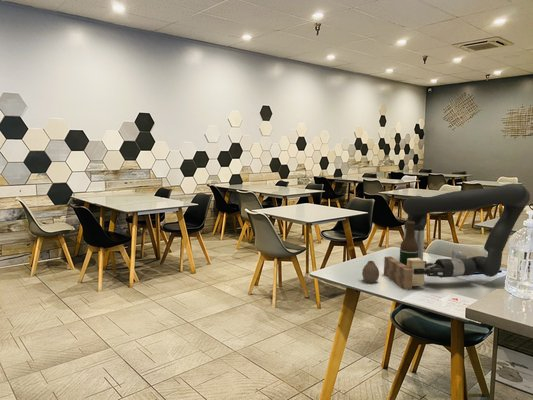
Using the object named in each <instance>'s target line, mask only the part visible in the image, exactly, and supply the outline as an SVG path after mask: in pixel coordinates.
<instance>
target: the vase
mask: <svg viewBox="0 0 533 400" xmlns="http://www.w3.org/2000/svg"><path fill="white" fill-rule="evenodd" d="M361 271H362V272H361V274H362V279H363V280H364V281H365V282H366V283H369V284H374V283H376V282H377V281H378V280H379V276H380V270H379V268H378V266H377V265H376V263H375V261H374V260H368V261H367V263H366V264H365V265H364V267H363V269H362V270H361Z"/></svg>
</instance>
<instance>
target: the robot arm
mask: <svg viewBox="0 0 533 400" xmlns="http://www.w3.org/2000/svg"><path fill="white" fill-rule="evenodd" d="M530 199H531V194H530V192H529V190H527V188H526V187H525V186H524V185H522V184H520V183H517V182H515V183H507V184H502V185H498V186H494V187H493V186H492V187H487V188H475V189H466V190H457V191H456V190H455V191H449V192H445V193H441V194H436V195H434V196H424V197H423V196H421V195H413V196H410V197H408V198H406V199H405V200H404V201H403V203H402V210H403V212H404V213H405V214H406V215H407V219H406V221H405V222H404V226H403V227H404V230H403V240H404V239H405V235H406V227H407V224H406V222H407V221H413V222H415V225H414V237H415V241H416V242H417V244H418V258H420V259H421V260H423V261H425V268H423V269H422V268H420V269H414V272H413V273H414V274H415V275H416V274H423V275H424V276H427V277H436V278H437V277H438V278H457V277H465V276H469V277H470V276H472V275H474V274H475V273H480V274H482V275H484V276H486V277H493V278H494V277H495V276H497V275H498V273H499V272H500V270H501V267H502V258H503V252H504V250H505V247H506V246H507V243H508V241H509V238H510V236H511V233H512V231H513V228H514V226H515V225H516V223H517V221H518V219H519V217H520V216H521V214H522V213H523V211H524V210H525V208H526V207H527V205H528V204H529V202H530ZM495 205H496V206H497V205H504V206H503V210H502V212H501V215H500V217H499V218H498V220H497V221H496V223H495V224H494V226H493V227H492V229H491V230H490V232H489V233H488V236H487V238H486V241H485V243H484V246H483V247H484V248H483V249H484V251H486V252H487V256H483V255H481V256H480V255H479V256H478V255H477V256H472V257H469V258H466V259H452V258H437V259H436V260H435V262H434V263H433V262H427V261H426V260H424V245H425V243H424V242H425V228H426V227H425V226H426V223H427V220H428V214H430V213H431V214H432V213H459V212H460V213H461V212H469V211H474V210H478V209H480V208H483V207H487V206H495Z"/></svg>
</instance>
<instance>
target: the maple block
mask: <svg viewBox="0 0 533 400" xmlns="http://www.w3.org/2000/svg"><path fill="white" fill-rule="evenodd" d="M425 261H426V260H424V259H423V260H421V259H420V258H407V267H409V268H411V269H412V270H413V272H414V269H420V268H422V269H423V268H425ZM424 285H425V275H423V274H416V275H415V274H414V273H413V275H412V287H417V286H418V287H421V286H424Z"/></svg>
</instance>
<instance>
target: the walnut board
mask: <svg viewBox="0 0 533 400" xmlns="http://www.w3.org/2000/svg"><path fill="white" fill-rule="evenodd" d="M383 260H384V261H383V262H384V263H383V275H385V276H386V277H387V278H389V279H390V280H392V281H393V282H394V283H395V284H397V285H398V286H400V287H401V288H402V289H404V290H412V289H413V286H412V275H413V270H412V269H411V268H409V267H407V266H406V265H404V264H402V263H401V262H399V261H400V260H398V259H396V258H394V257H392V256H384V258H383Z"/></svg>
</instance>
